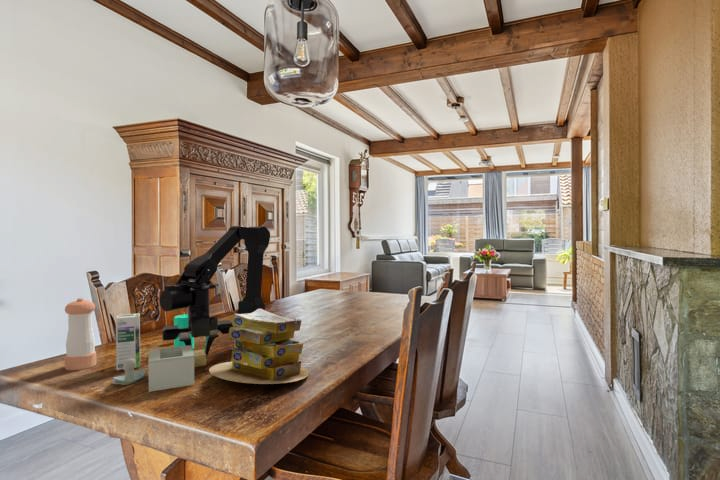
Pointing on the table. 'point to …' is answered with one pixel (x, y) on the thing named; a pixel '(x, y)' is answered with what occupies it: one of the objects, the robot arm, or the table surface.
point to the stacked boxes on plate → (262, 350)
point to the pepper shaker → (80, 336)
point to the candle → (182, 323)
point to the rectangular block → (199, 358)
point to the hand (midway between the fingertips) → (199, 359)
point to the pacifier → (129, 373)
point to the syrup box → (127, 339)
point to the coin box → (171, 367)
